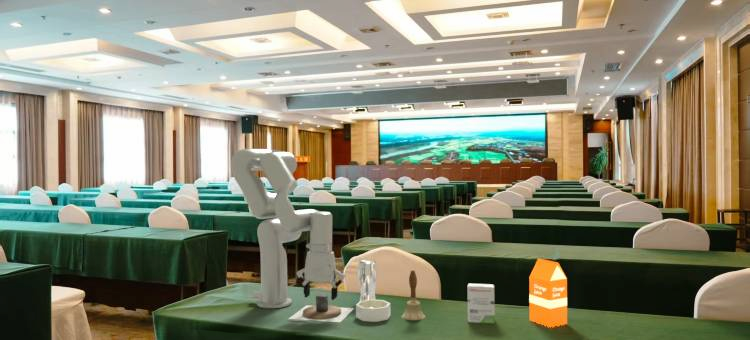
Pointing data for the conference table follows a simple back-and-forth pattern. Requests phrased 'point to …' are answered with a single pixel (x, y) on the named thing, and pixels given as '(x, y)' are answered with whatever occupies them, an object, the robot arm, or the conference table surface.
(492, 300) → the ink box
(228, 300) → the conference table surface
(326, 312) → the lid
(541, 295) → the orange juice
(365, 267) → the beer glass
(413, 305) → the hand bell
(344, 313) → the mat
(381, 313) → the bowl
